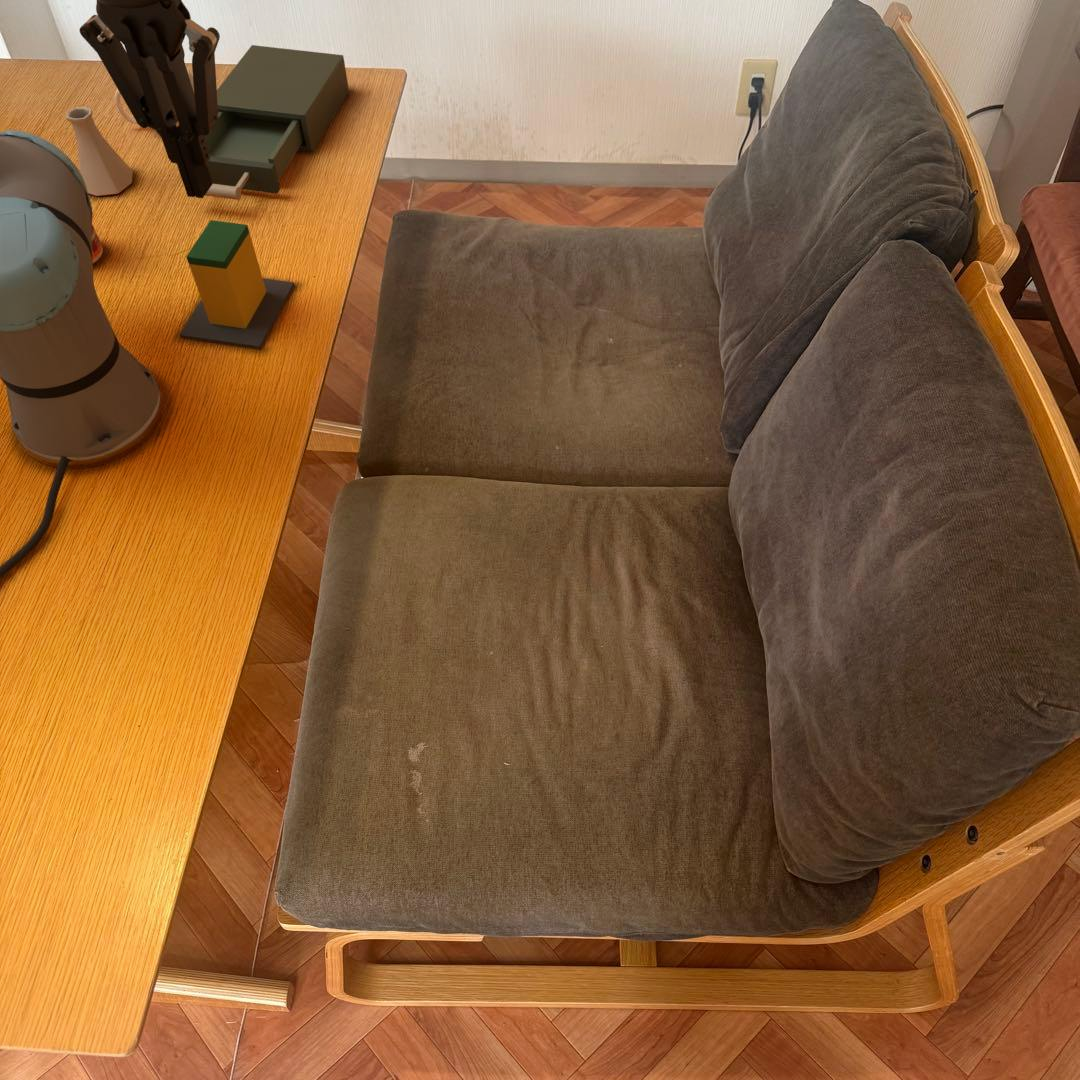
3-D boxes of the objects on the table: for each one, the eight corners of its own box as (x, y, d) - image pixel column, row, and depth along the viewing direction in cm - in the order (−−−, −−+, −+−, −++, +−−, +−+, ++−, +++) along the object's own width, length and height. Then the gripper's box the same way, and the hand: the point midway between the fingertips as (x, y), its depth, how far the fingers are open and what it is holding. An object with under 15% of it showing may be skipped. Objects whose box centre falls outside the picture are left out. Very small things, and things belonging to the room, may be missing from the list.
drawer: (264, 216, 119) (257, 190, 116) (169, 204, 120) (159, 178, 117) (316, 130, 132) (311, 105, 128) (230, 120, 133) (223, 94, 130)
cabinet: (312, 152, 130) (304, 115, 125) (217, 140, 131) (206, 103, 127) (349, 91, 140) (343, 54, 135) (260, 81, 141) (251, 44, 137)
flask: (142, 169, 126) (116, 100, 118) (123, 199, 122) (94, 129, 114) (92, 166, 127) (63, 96, 119) (71, 195, 122) (40, 125, 114)
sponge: (245, 329, 107) (224, 261, 99) (210, 324, 107) (185, 256, 99) (266, 291, 111) (247, 224, 103) (232, 287, 111) (210, 219, 103)
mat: (260, 349, 105) (259, 346, 105) (180, 337, 106) (178, 334, 106) (294, 285, 112) (294, 282, 112) (219, 275, 113) (218, 272, 113)
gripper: (210, -68, 78) (271, 178, 97) (69, -82, 80) (157, 163, 99) (175, -32, 74) (246, 218, 93) (26, -47, 75) (126, 202, 94)
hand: (200, 189), depth 96 cm, fingers closed
